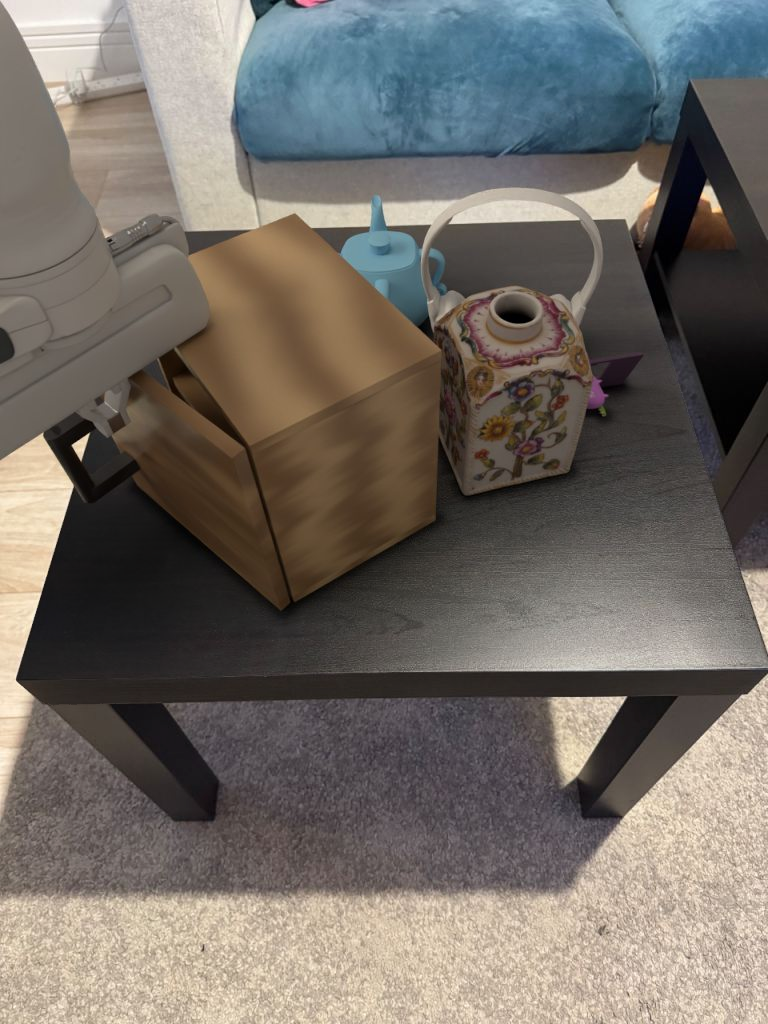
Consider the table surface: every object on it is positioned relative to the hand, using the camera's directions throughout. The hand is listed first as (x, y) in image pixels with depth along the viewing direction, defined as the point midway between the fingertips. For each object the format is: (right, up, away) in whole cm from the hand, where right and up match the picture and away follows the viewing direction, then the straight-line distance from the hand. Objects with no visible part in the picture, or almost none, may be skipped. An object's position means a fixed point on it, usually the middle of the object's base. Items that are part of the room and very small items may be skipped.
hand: (114, 426), depth 57 cm
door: (+2, -11, +13) cm, 18 cm away
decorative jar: (+33, 0, +21) cm, 39 cm away
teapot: (+21, +18, +34) cm, 43 cm away
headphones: (+34, +12, +29) cm, 46 cm away
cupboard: (+13, -4, +18) cm, 23 cm away
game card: (+43, +5, +24) cm, 50 cm away
